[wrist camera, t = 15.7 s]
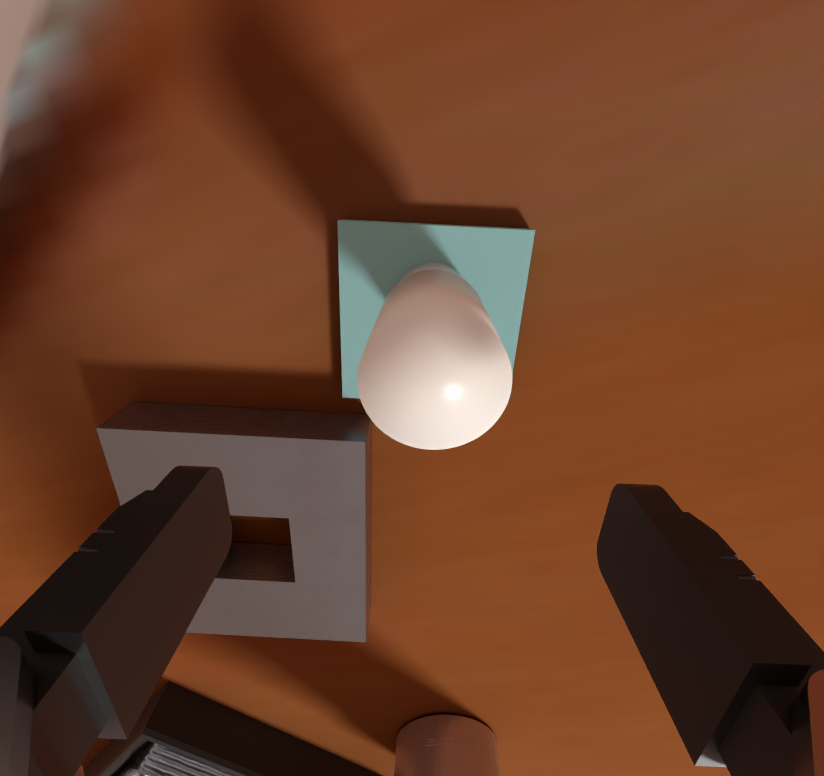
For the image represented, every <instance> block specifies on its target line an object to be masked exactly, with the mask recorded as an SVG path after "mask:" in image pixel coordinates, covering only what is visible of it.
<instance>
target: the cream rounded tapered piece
mask: <svg viewBox="0 0 824 776" xmlns="http://www.w3.org/2000/svg"><path fill="white" fill-rule="evenodd" d="M357 382H358V391H359V396H360V399H361V402H362V405H363V407H364V409H365V411H366V413H367V414H368V416H369V417H370V419H371V420H372V421H373V422H374V424H375V425H376V426H377V427H378V428H379V429H380V430H382V431H383V432H384V433H385V434H387V435H388V436H390V437H391V438H393V439H394V440H396V441H398V442H400V443H403V444H406V445H408V446H412V447H416V448H421V449H431V450H439V449H448V448H453V447H457V446H460V445H463V444H466V443H468V442H470V441H473V440H474V439H476V438H478V437H479V436H481V435H482V434H484V433H485V432H486V431H487V430H489V429H490V428H491V427H492V426H493V425H494V424H495V422H496V421H497V420H498V419H499V417H500V416H501V414H502V413H503V411H504V409H505V407H506V405H507V403H508V400H509V397H510V393H511V388H512V369H511V363H510V360H509V357H508V354H507V352H506V350H505V348H504V346H503V344H502V342H501V340H500V338H499V336H498V334H497V332H496V330H495V328H494V326H493V324H492V322H491V320H490V318H489V316H488V313H487V311H486V309H485V307H484V305H483V303H482V301H481V299H480V297H479V295H478V294H477V292H476V291H475V289H474V288H473V287H472V286H471V285H470V284H469V283H468V282H467V281H466V280H465V279H463V278H462V277H461V275H460V274H459V273H458V272H457V271H456V270H455V269H453V268H452V267H450V266H448V265H446V264H443V263H439V262H425V263H421V264H419V265H416V266H414V267H413V268H411V269H410V270H408V271H407V272H406V273H405V274H404V275H403V277H402V278H401V279H400V281H399V282H398V283H397V284H396V285H395V286H394V287H393V288H392V289H391V290H390V292H389V293H388V295H387V297H386V298H385V301H384V303H383V306H382V308H381V310H380V313H379V315H378V318H377V320H376V323H375V325H374V328H373V330H372V332H371V335H370V337H369V340H368V342H367V345H366V347H365V350H364V352H363V354H362V357H361V359H360V363H359V368H358V376H357Z"/></svg>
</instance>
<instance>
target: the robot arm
mask: <svg viewBox="0 0 824 776" xmlns="http://www.w3.org/2000/svg"><path fill="white" fill-rule="evenodd" d="M231 540H232V523H231V517H230V512H229V506H228V501H227V495H226V490H225V484H224V479H223V474H222V472H221V470H220V469H219V468H218V467H206V466H176V467H175V468H173V469H172V470H171V471H170V472H169V473H168V475H167V476H166V477H165V478H164V479H163V480H162V481H161V482H160V483H159V484H158V485H157V486H156V488H155V489H154V490H146V491H144V492H142V493H141V494H139V495H137V496H136V497H134V498H133V499H131V500H129V501H128V502H126V503H125V504H123V505H121V506H120V507H118V508H117V509H116V510H115V511H114V512H113V513H112V514H111V515H110V516H109V517H108V518H107V519H106V520H105V521H104V522H103V523H102V524H101V526H100V527H99V528H98V530H97V533H93V534H92V535H91V536H90V537H89V538H88V539H87V540H86V541H85V542H84V543H83V544H82V545H81V546H80V547H79V551H78V552H74V553H73V554H72V555H71V556H70V557H69V558H68V559H67V560H66V561H65V562H64V563H63V564H62V565H61V566H60V567H59V568H58V569H57V570H56V571H55V572H54V573H53V574H52V575H51V576H50V577H49V578H48V579H47V580H46V581H45V582H44V583H43V584H42V585H41V586H40V587H39V588H38V590H37V591H36V592H35V593H34V594H33V595H32V596H31V597H30V598H29V599H28V600H27V601H26V602H25V603H24V604H23V605H22V606H21V607H20V608H19V609H18V610H17V611H16V612H15V613H14V614H13V615H12V616H11V617H10V618H9V619H8V620H7V621H6V622H5V623H4V624H3V625H2V626H1V627H0V776H84V769H83V766H82V762H83V761H84V759H85V757H86V756H87V754H88V752H89V751H90V749H91V747H92V746H93V744H94V742H95V741H96V739H97V738H104V739H128V737H129V735H130V733H131V732H132V730H133V728H134V726H135V724H136V722H137V721H138V719H139V717H140V715H141V713H142V711H143V709H144V708H145V706H146V704H147V702H148V700H149V698H150V697H151V695H152V693H153V691H154V689H155V687H156V686H157V684H158V682H159V680H160V678H161V676H162V675H163V673H164V671H165V669H166V667H167V665H168V664H169V662H170V660H171V658H172V656H173V654H174V652H175V651H176V649H177V647H178V645H179V643H180V641H181V640H182V638H183V636H184V634H185V632H186V630H187V629H188V627H189V625H190V623H191V621H192V619H193V618H194V616H195V614H196V612H197V610H198V608H199V607H200V605H201V603H202V601H203V599H204V597H205V596H206V594H207V592H208V590H209V588H210V586H211V584H212V583H213V581H214V579H215V577H216V575H217V573H218V572H219V570H220V568H221V566H222V564H223V562H224V561H225V559H226V557H227V554H228V552H229V549H230V545H231ZM597 558H598V564H599V568H600V571H601V573H602V576H603V578H604V580H605V582H606V584H607V586H608V588H609V590H610V592H611V594H612V596H613V598H614V600H615V602H616V604H617V607H618V609H619V611H620V613H621V615H622V617H623V619H624V621H625V623H626V625H627V627H628V629H629V631H630V633H631V635H632V637H633V639H634V642H635V644H636V646H637V648H638V650H639V652H640V654H641V656H642V658H643V660H644V662H645V664H646V666H647V668H648V670H649V672H650V675H651V677H652V679H653V681H654V683H655V685H656V687H657V689H658V691H659V693H660V695H661V697H662V699H663V701H664V703H665V705H666V707H667V710H668V712H669V714H670V716H671V718H672V720H673V722H674V724H675V726H676V728H677V730H678V732H679V734H680V736H681V738H682V740H683V742H684V745H685V747H686V749H687V751H688V753H689V755H690V757H691V759H692V761H693V763H694V765H695V766H714V767H727V768H728V770H729V772H730V774H731V776H824V652H823V651H822V650H821V648H820V647H819V646H818V645H817V644H816V643H815V642H814V641H813V639H812V638H811V637H810V636H809V635H808V634H807V633H806V632H805V630H804V629H803V628H802V627H801V626H800V625H799V624H798V623H797V622H796V620H795V619H794V618H793V617H792V616H791V615H790V614H789V613H788V611H787V610H786V609H785V608H784V607H783V606H782V605H781V604H780V603H779V601H778V600H777V599H776V598H775V597H774V596H773V595H772V594H771V592H770V591H769V590H768V589H767V588H766V587H765V586H764V585H763V583H762V582H761V581H757V580H756V579H755V575H754V573H753V572H752V571H751V570H750V569H749V568H748V567H747V566H746V564H745V563H744V562H743V561H742V560H738V558H737V554H736V553H735V552H734V551H733V550H732V549H731V548H730V547H729V545H728V544H727V543H726V542H725V541H724V540H723V539H722V538H721V536H720V535H719V534H718V533H717V532H716V531H714V530H713V529H712V528H710V527H709V526H707V525H706V524H704V523H703V522H702V521H700V520H699V519H697V518H696V517H695V516H693V515H692V514H690V513H689V512H683V511H682V510H681V509H680V508H679V507H678V505H677V504H676V503H675V502H674V501H673V499H672V498H671V497H670V496H669V495H668V493H667V492H666V491H665V490H664V489H663V488H662V487H660V486H658V485H641V484H617V485H616V486H615V487H614V488H613V490H612V493H611V496H610V499H609V503H608V507H607V510H606V514H605V517H604V521H603V524H602V528H601V531H600V535H599V538H598V543H597ZM394 776H501V775H500V768H499V761H498V753H497V746H496V739H495V736H494V734H493V732H492V731H491V730H490V729H489V728H488V727H487V726H485V725H484V724H482V723H480V722H478V721H476V720H474V719H471V718H467V717H463V716H457V715H433V716H427V717H423V718H420V719H417V720H415V721H412V722H410V723H409V724H407V725H406V726H404V727H403V728H402V729H401V730H400V732H399V733H398V735H397V738H396V754H395V772H394Z"/></svg>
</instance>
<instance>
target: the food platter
mask: <svg viewBox="0 0 824 776" xmlns="http://www.w3.org/2000/svg"><path fill="white" fill-rule="evenodd" d="M84 776H381V775H379V774H376V773H374V772H372V771H370V770H367V769H365V768H363V767H361V766H358V765H356V764H354V763H352V762H349V761H347V760H345V759H343V758H340V757H338V756H336V755H334V754H331V753H329V752H327V751H325V750H322V749H320V748H318V747H316V746H313V745H311V744H309V743H307V742H304V741H302V740H300V739H298V738H295V737H293V736H291V735H289V734H286V733H284V732H282V731H280V730H277V729H275V728H273V727H271V726H268V725H266V724H264V723H262V722H259V721H257V720H255V719H253V718H250V717H248V716H246V715H244V714H241V713H239V712H237V711H235V710H232V709H230V708H228V707H226V706H223V705H221V704H219V703H217V702H214V701H212V700H210V699H208V698H205V697H203V696H201V695H199V694H196V693H194V692H192V691H190V690H187V689H185V688H183V687H181V686H178V685H176V684H174V683H172V682H169V681H168V682H167V683H166V684H165V685H164V686H163V687H162V689H161V690H160V691H159V692H158V693H157V694H156V695H155V696H154V697H153V698H152V699H151V700H150V701H149V702H148V703H147V704H146V706H145V708H144V709H143V711H142V713H141V715H140V717H139V719H138V721H137V722H136V724H135V726H134V728H133V730H132V732H131V733H130V735H129V737H128V739H113V740H112V741H111V742H110V743H109V744H108V745H107V746H106V747H105V748H104V749H103V750H102V751H101V752H100V753H99V754H98V755H97V756H96V757H95V758H94V759H93V760H92V761H91V762H90V763H89V765H88V766H87V767H86V768H85V769H84Z"/></svg>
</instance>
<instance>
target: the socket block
mask: <svg viewBox="0 0 824 776" xmlns="http://www.w3.org/2000/svg"><path fill="white" fill-rule="evenodd" d="M96 430H97V433H98V436H99V439H100V442H101V445H102V448H103V452H104V455H105V458H106V461H107V464H108V467H109V470H110V474H111V477H112V480H113V483H114V486H115V489H116V492H117V496H118V499H119V502H120V505H123V504H125V503H126V502H128V501H129V500H131V499H133V498H134V497H136V496H137V495H139V494H141V493H142V492H144V491H146V490H154V489H155V488H156V486H157V485H158V484H159V483H160V482H161V481H162V480H163V479H164V478H165V477H166V476H167V475H168V473H169V472H170V471H171V470H172V469H173V468H175V467H176V466H206V467H218V468H219V469H220V470H221V472H222V474H223V479H224V484H225V490H226V495H227V501H228V506H229V512H230V515H236V516H255V517H274V518H289V525H290V534H291V544H292V545H281V544H262V543H243V542H232V540H231V545H230V549H229V552H228V554H227V557H226V559H225V561H224V562H223V564H222V566H221V568H220V570H219V572H218V573H217V575H216V577H215V579H214V581H213V583H212V584H211V586H210V588H209V590H208V592H207V594H206V596H205V597H204V599H203V601H202V603H201V605H200V607H199V608H198V610H197V612H196V614H195V616H194V618H193V619H192V621H191V623H190V625H189V627H188V629H187V630H186V632H185V633H202V634H221V635H239V636H258V637H276V638H295V639H314V640H332V641H351V642H366V637H367V630H368V622H369V614H370V606H371V478H372V420H371V419H370V417H369V416H368V414H356V413H336V412H317V411H297V410H278V409H259V408H239V407H220V406H201V405H181V404H162V403H142V402H132V403H130V404H129V405H128V406H126V407H125V408H123V409H122V410H121V411H119V412H118V413H116V414H115V415H114V416H112V417H111V418H109V419H108V420H107V421H105V422H104V423H103V424H101V425H100V426H98V427H97V428H96Z"/></svg>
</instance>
